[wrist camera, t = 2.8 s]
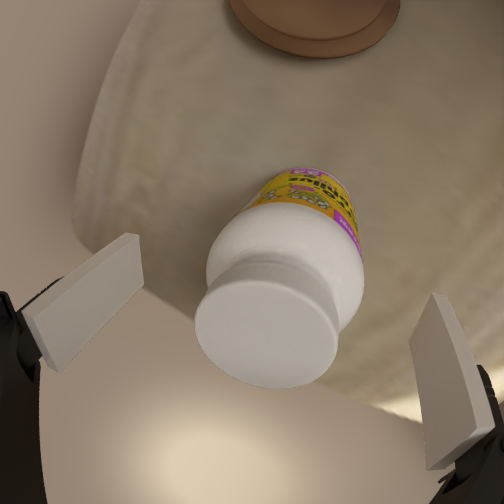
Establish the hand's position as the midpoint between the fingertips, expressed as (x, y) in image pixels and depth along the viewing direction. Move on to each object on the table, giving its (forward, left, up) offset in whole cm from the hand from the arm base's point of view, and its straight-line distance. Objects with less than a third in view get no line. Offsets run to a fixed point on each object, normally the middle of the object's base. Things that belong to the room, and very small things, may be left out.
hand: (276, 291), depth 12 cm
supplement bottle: (0, 0, -10) cm, 10 cm away
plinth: (-16, -1, -9) cm, 19 cm away
